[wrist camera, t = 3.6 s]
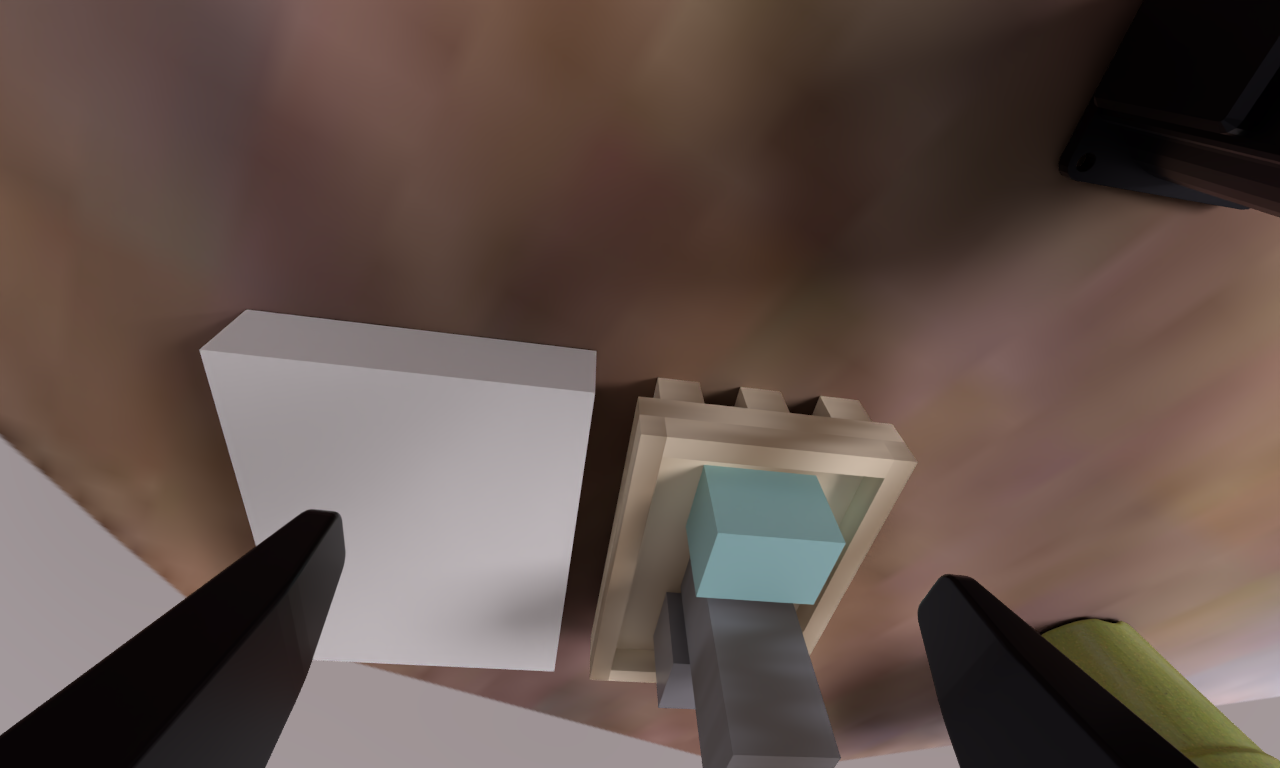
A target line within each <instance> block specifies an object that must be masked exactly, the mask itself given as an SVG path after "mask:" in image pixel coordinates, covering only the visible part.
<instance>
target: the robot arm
mask: <svg viewBox="0 0 1280 768" xmlns="http://www.w3.org/2000/svg"><path fill="white" fill-rule="evenodd" d="M1085 154H1086V158H1085V161H1084V162H1083V163H1082V164H1081V165H1080V166H1079V167H1077V162H1078V160H1079V159H1080V158H1081V157H1082V156H1083V155H1085ZM1058 167H1059V171H1060V173H1061V175H1063V176H1065V177H1068V178H1070V179H1073V180H1076V181H1081V182H1086V183H1092V184H1098V185H1104V186H1109V187H1115V188H1121V189H1127V190H1132V191H1138V192H1144V193H1149V194H1155V195H1161V196H1167V197H1172V198H1178V199H1184V200H1189V201H1195V202H1201V203H1207V204H1212V205H1218V206H1224V207H1230V208H1235V209H1241V210H1242V209H1249V208H1252V209H1255V210H1259V211H1262V212H1265V213H1268V214H1271V215H1274V216H1277V217H1280V0H1144V2H1143V4H1142V5H1141V7H1140V9H1139V11H1138V13H1137V15H1136V17H1135V19H1134V20H1133V22H1132V24H1131V26H1130V28H1129V30H1128V32H1127V34H1126V35H1125V37H1124V39H1123V41H1122V43H1121V45H1120V47H1119V49H1118V50H1117V52H1116V54H1115V56H1114V58H1113V60H1112V62H1111V64H1110V65H1109V67H1108V69H1107V71H1106V73H1105V75H1104V77H1103V79H1102V80H1101V82H1100V84H1099V86H1098V88H1097V90H1096V92H1095V93H1094V95H1093V97H1092V99H1091V101H1090V103H1089V105H1088V107H1087V108H1086V110H1085V112H1084V114H1083V116H1082V118H1081V120H1080V122H1079V123H1078V125H1077V127H1076V129H1075V131H1074V133H1073V135H1072V137H1071V138H1070V140H1069V142H1068V144H1067V146H1066V148H1065V150H1064V152H1063V153H1062V155H1061V158H1060V160H1059V163H1058ZM345 556H346V550H345V541H344V532H343V523H342V517H341V515H340V514H339V513H338V512H335V511H327V510H317V509H309V510H306V511H304V512H302V513H300V514H299V515H298V516H296V517H295V518H294V519H292V520H291V521H290V522H288V523H287V524H285V525H284V526H283V527H281V528H280V529H279V530H277V531H276V532H275V533H273V534H272V535H271V536H269V537H268V538H267V539H265V540H264V541H263V542H261V543H260V544H258V545H257V546H256V547H254V548H253V549H252V550H250V551H249V552H248V553H246V554H245V555H244V556H242V557H241V558H240V559H238V560H237V561H235V562H234V563H233V564H231V565H230V566H229V567H227V568H226V569H225V570H223V571H222V572H221V573H219V574H218V575H217V576H215V577H214V578H212V579H211V580H210V581H208V582H207V583H206V584H204V585H203V586H202V587H200V588H199V589H198V590H196V591H195V592H194V593H192V594H191V595H190V596H188V597H187V598H185V599H184V600H183V601H181V602H180V603H179V604H177V605H176V606H175V607H173V608H172V609H171V610H169V611H168V612H167V613H165V614H164V615H163V616H161V617H160V618H158V619H157V620H156V621H154V622H153V623H152V624H150V625H149V626H148V627H146V628H145V629H144V630H142V631H141V632H139V633H138V634H137V635H135V636H134V637H133V638H132V639H130V640H129V641H127V642H126V643H125V644H123V645H122V646H121V647H119V648H118V649H116V650H115V651H114V652H113V653H111V654H110V655H109V656H107V657H106V658H104V659H103V660H102V661H100V662H99V663H98V664H96V665H95V666H94V667H92V668H91V669H89V670H88V671H87V672H86V673H84V674H83V675H81V676H80V677H79V678H77V679H76V680H75V681H73V682H72V683H71V684H69V685H68V686H66V687H65V688H64V689H63V690H61V691H60V692H58V693H57V694H56V695H54V696H53V697H52V698H50V699H49V700H48V701H46V702H45V703H43V704H42V705H41V706H39V707H38V708H37V709H36V710H34V711H33V712H31V713H30V714H29V715H27V716H26V717H25V718H23V719H22V720H20V721H19V722H18V723H16V724H15V725H14V726H12V727H11V728H10V729H8V730H7V731H6V732H4V733H3V734H2V735H1V736H0V768H265V767H266V765H267V762H268V760H269V758H270V756H271V753H272V751H273V749H274V747H275V745H276V743H277V741H278V739H279V736H280V734H281V732H282V730H283V728H284V726H285V724H286V721H287V719H288V717H289V715H290V713H291V711H292V708H293V706H294V704H295V702H296V700H297V698H298V695H299V693H300V691H301V688H302V686H303V683H304V681H305V679H306V676H307V673H308V671H309V668H310V665H311V662H312V659H313V656H314V653H315V651H316V648H317V645H318V642H319V639H320V636H321V633H322V630H323V627H324V624H325V621H326V618H327V615H328V612H329V609H330V606H331V603H332V600H333V597H334V594H335V591H336V588H337V585H338V582H339V579H340V576H341V573H342V570H343V567H344V563H345ZM918 622H919V626H920V630H921V634H922V638H923V642H924V646H925V650H926V654H927V658H928V662H929V665H930V669H931V673H932V677H933V681H934V685H935V689H936V693H937V697H938V701H939V705H940V708H941V712H942V715H943V719H944V722H945V725H946V728H947V731H948V734H949V737H950V740H951V743H952V746H953V749H954V751H955V754H956V757H957V760H958V763H959V765H960V768H1199V767H1198V766H1197V765H1196V764H1194V763H1193V762H1192V761H1191V760H1190V759H1189V758H1187V757H1186V756H1185V755H1184V754H1183V753H1181V752H1180V751H1179V750H1178V749H1177V748H1175V747H1174V746H1173V745H1172V744H1171V743H1169V742H1168V741H1167V740H1166V739H1165V738H1163V737H1162V736H1161V735H1160V734H1159V733H1157V732H1156V731H1155V730H1154V729H1153V728H1151V727H1150V726H1149V725H1148V724H1147V723H1145V722H1144V721H1143V720H1142V719H1141V718H1139V717H1138V716H1137V715H1136V714H1135V713H1133V712H1132V711H1131V710H1130V709H1129V708H1128V707H1126V706H1125V705H1124V704H1123V703H1122V702H1120V701H1119V700H1118V699H1117V698H1116V697H1114V696H1113V695H1112V694H1111V693H1110V692H1108V691H1107V690H1106V689H1105V688H1104V687H1102V686H1101V685H1100V684H1099V683H1098V682H1096V681H1095V680H1094V679H1093V678H1092V677H1090V676H1089V675H1088V674H1087V673H1086V672H1084V671H1083V670H1082V669H1081V668H1080V667H1078V666H1077V665H1076V664H1075V663H1074V662H1073V661H1071V660H1070V659H1069V658H1068V657H1067V656H1065V655H1064V654H1063V653H1062V652H1061V651H1059V650H1058V649H1057V648H1056V647H1055V646H1053V645H1052V644H1051V643H1050V642H1049V641H1047V640H1046V639H1045V638H1044V637H1043V636H1041V635H1040V634H1039V633H1038V632H1037V631H1035V630H1034V629H1033V628H1032V627H1031V626H1029V625H1028V624H1027V623H1026V622H1025V621H1023V620H1022V619H1021V618H1020V617H1019V616H1017V615H1016V614H1015V613H1014V612H1013V611H1012V610H1010V609H1009V608H1008V607H1007V606H1006V605H1004V604H1003V603H1002V602H1001V601H1000V600H998V599H997V598H996V597H995V596H994V595H992V594H991V593H990V592H989V591H988V590H986V589H985V588H984V587H983V586H982V585H980V584H979V583H978V582H977V581H976V580H974V579H973V578H971V577H968V576H962V575H953V574H945V575H943V576H941V577H940V578H939V579H938V580H937V582H936V583H935V584H934V586H933V587H932V588H931V590H930V591H929V592H928V594H927V595H926V596H925V598H924V599H923V600H922V602H921V603H920V605H919V608H918Z"/></svg>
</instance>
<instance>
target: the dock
mask: <svg viewBox="0 0 1280 768" xmlns="http://www.w3.org/2000/svg"><path fill="white" fill-rule="evenodd" d="M199 350H200V354H201V357H202V361H203V364H204V368H205V371H206V375H207V378H208V382H209V385H210V389H211V392H212V395H213V399H214V402H215V406H216V409H217V413H218V416H219V420H220V423H221V427H222V430H223V434H224V437H225V440H226V444H227V447H228V451H229V454H230V458H231V461H232V465H233V468H234V472H235V475H236V479H237V482H238V485H239V489H240V492H241V496H242V499H243V503H244V506H245V510H246V513H247V517H248V520H249V523H250V527H251V530H252V534H253V537H254V541H255V544H256V546H257V545H258V544H260V543H261V542H263V541H264V540H265V539H267V538H268V537H269V536H271V535H272V534H273V533H275V532H276V531H277V530H279V529H280V528H281V527H283V526H284V525H285V524H287V523H288V522H290V521H291V520H292V519H294V518H295V517H296V516H298V515H299V514H300V513H302V512H304V511H306V510H309V509H317V510H327V511H335V512H338V513H339V514H340V515H341V517H342V523H343V532H344V541H345V550H346V556H345V563H344V567H343V570H342V573H341V576H340V579H339V582H338V585H337V588H336V591H335V594H334V597H333V600H332V603H331V606H330V609H329V612H328V615H327V618H326V621H325V624H324V627H323V630H322V633H321V636H320V639H319V642H318V645H317V648H316V651H315V653H314V656H313V659H312V660H323V661H343V662H365V663H386V664H407V665H428V666H450V667H471V668H492V669H514V670H535V671H554V668H555V662H556V655H557V648H558V641H559V634H560V628H561V621H562V614H563V607H564V601H565V594H566V587H567V580H568V573H569V567H570V560H571V553H572V546H573V540H574V533H575V526H576V519H577V512H578V506H579V499H580V492H581V485H582V479H583V472H584V465H585V458H586V451H587V445H588V438H589V431H590V424H591V418H592V411H593V404H594V397H595V382H596V352H597V351H593V350H584V349H576V348H567V347H559V346H551V345H542V344H534V343H525V342H517V341H508V340H500V339H491V338H483V337H475V336H466V335H458V334H449V333H441V332H432V331H424V330H415V329H407V328H399V327H390V326H382V325H373V324H365V323H356V322H348V321H339V320H331V319H323V318H314V317H306V316H297V315H289V314H280V313H272V312H263V311H255V310H247V309H246V310H245V311H244V312H243V313H242V314H240V315H239V316H238V317H237V318H236V319H235V320H233V321H232V322H231V323H230V324H229V325H228V326H226V327H225V328H224V329H223V330H222V331H221V332H219V333H218V334H217V335H216V336H215V337H214V338H212V339H211V340H210V341H209V342H208V343H206V344H205V345H204V346H203V347H202V348H201V349H199Z"/></svg>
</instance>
